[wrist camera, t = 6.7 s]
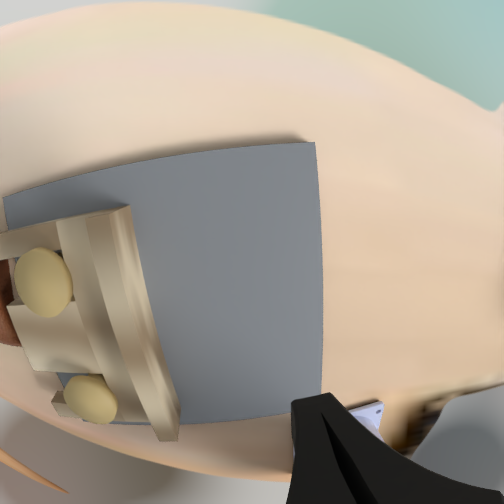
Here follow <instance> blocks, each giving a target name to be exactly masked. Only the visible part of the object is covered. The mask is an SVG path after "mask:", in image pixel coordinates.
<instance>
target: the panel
mask: <svg viewBox="0 0 504 504" xmlns="http://www.w3.org/2000/svg"><path fill="white" fill-rule="evenodd" d="M39 247H43V248H48V249H50V250H52V251H54V250H60V249H61V250H62V254H63V258H64V262H65V263H66V265H67V267H68V269H69V271H70V273H71V276H72V281H73V295H72V298H71V301H70V303H69V304H68V305H67V306H66V307H65V308H64V309H63V311H62V312H61V313H59V314H58V315H57V316H54V317H50V318H48V317H42V316H39V315H37V314H35V313H34V312H32V311H31V310H30V309H29V308H28V307H27V306H26V305H25V304H24V303H23V301H22V300H21V298H16V299H15V300H14V301H12V302H11V303H10V304H9V305H7V306H6V307H7V309H8V312H9V315H10V317H11V320H12V323H13V325H14V328H15V330H16V333H17V335H18V337H19V340H20V342H21V344H22V347H23V349H24V351H25V353H26V356H27V358H28V360H29V362H30V364H31V366H32V368H33V370H34V371H47V372H64V373H95V374H103V376H104V378H105V381H106V383H107V385H108V387H109V389H110V390H111V391H112V392H113V393H114V395H115V396H116V398H117V400H118V409H117V412H116V415H115V418H114V420H113V421H120V422H150V423H151V425H152V427H153V429H154V431H155V433H156V435H157V437H158V439H159V441H178V432H179V423H180V415H181V406H180V403H179V400H178V397H177V394H176V391H175V388H174V385H173V382H172V379H171V376H170V373H169V370H168V367H167V364H166V360H165V357H164V354H163V350H162V347H161V344H160V340H159V336H158V333H157V329H156V326H155V322H154V318H153V314H152V310H151V306H150V302H149V298H148V294H147V290H146V285H145V281H144V277H143V272H142V267H141V263H140V258H139V253H138V248H137V242H136V237H135V232H134V226H133V220H132V214H131V208H130V205H127V206H121V207H116V208H110V209H105V210H99V211H94V212H89V213H84V214H79V215H74V216H70V217H65V218H60V219H56V220H51V221H47V222H43V223H38V224H34V225H30V226H26V227H22V228H18V229H14V230H10V231H6V232H2V233H0V260H4V259H9V258H14V257H20V256H22V255H23V254H25V253H27V252H29V251H30V250H32V249H34V248H39ZM51 403H52V405H53V406H54V408H55V410H56V411H57V413H58V415H59V416H63V417H71V418H80V419H83V418H81V417H79V416H78V415H77V414H75V413H74V412H73V411H72V410H71V409H70V408H69V406H68V405H67V403H66V402H65V399H64V396H63V391H57V393H56V394H55V396H54V398H53V399H52V401H51Z"/></svg>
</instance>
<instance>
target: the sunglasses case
mask: <svg viewBox="0 0 504 504" xmlns="http://www.w3.org/2000/svg"><path fill="white" fill-rule="evenodd" d="M12 301H14V296H13V290H12V285H11V278H10V273H9V264H8V259H4V260H0V343H3V344H7V345H12V346H22V344H21V342H20V340H19V337H18V335H17V333H16V330H15V328H14V325H13V323H12V320H11V317H10V315H9V312H8V309H7V307H6V306H7V305H9V304H10V303H11V302H12Z"/></svg>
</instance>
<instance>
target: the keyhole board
mask: <svg viewBox="0 0 504 504" xmlns="http://www.w3.org/2000/svg"><path fill="white" fill-rule="evenodd" d="M3 202H4V208H5V215H6V220H7V226H8V231H10V230H14V229H18V228H22V227H26V226H30V225H34V224H38V223H43V222H47V221H51V220H56V219H60V218H65V217H70V216H74V215H79V214H84V213H89V212H94V211H99V210H105V209H110V208H116V207H121V206H127V205H130V208H131V214H132V220H133V226H134V232H135V237H136V242H137V248H138V253H139V258H140V263H141V267H142V272H143V277H144V281H145V285H146V290H147V294H148V298H149V302H150V306H151V310H152V314H153V318H154V322H155V326H156V329H157V333H158V336H159V340H160V344H161V347H162V350H163V354H164V357H165V360H166V364H167V367H168V370H169V373H170V376H171V379H172V382H173V385H174V388H175V391H176V394H177V397H178V400H179V403H180V406H181V415H180V423H179V425H180V424H200V423H214V422H226V421H235V420H244V419H252V418H259V417H266V416H273V415H279V414H285V413H290V412H291V402H292V401H293V400H295V399H301V398H306V397H311V396H316V395H320V394H321V381H322V352H323V266H322V237H321V216H320V199H319V184H318V171H317V159H316V148H315V142H305V143H286V144H271V145H258V146H247V147H237V148H227V149H219V150H211V151H203V152H195V153H188V154H182V155H175V156H169V157H163V158H157V159H151V160H146V161H141V162H135V163H130V164H125V165H121V166H116V167H111V168H107V169H102V170H98V171H94V172H89V173H85V174H81V175H77V176H73V177H70V178H66V179H62V180H58V181H55V182H51V183H48V184H44V185H41V186H38V187H34V188H31V189H28V190H25V191H22V192H18V193H15V194H12V195H9V196H6V197H4V198H3ZM15 261H16V266H15V271H14V281H15V286H16V289H17V292H18V294H19V296H20V298H21V300H22V301H23V303H24V304H25V305H26V306H27V307H28V308H29V309H30V310H31V311H32V312H34V313H35V314H37V315H39V316H42V317H48V318H50V317H54V316H57V315H58V314H59V313H61V312H62V311H63V309H64V308H65V307H66V306H67V305H68V304H69V303H70V301H71V298H72V295H73V281H72V276H71V273H70V271H69V269H68V267H67V265H66V263H65V262H64V258H63V254H62V250H61V249H60V250H54V251H52V250H50V249H48V248H43V247H39V248H34V249H32V250H30V251H29V252H27V253H25V254H23V255H22V256H20V257H15ZM57 374H58V376H59V378H60V380H61V382H62V384H63V386H64V388H65V389H64V392H63V396H64V399H65V402H66V403H67V405H68V406H69V408H70V409H71V410H72V411H73V412H74V413H75V414H77V415H78V416H79V417H81V418H83V419H82V420H83V421H85V422H92V423H96V424H107V423H109V424H130V425H151V423H150V422H120V421H113V420H114V418H115V415H116V412H117V409H118V400H117V398H116V396H115V395H114V393H113V392H112V391H111V390H110V389H109V387H108V385H107V383H106V381H105V378H104V376H103V374H95V373H64V372H57Z"/></svg>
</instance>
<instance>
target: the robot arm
mask: <svg viewBox="0 0 504 504" xmlns="http://www.w3.org/2000/svg"><path fill="white" fill-rule="evenodd" d="M383 409H384V403H383V402H382V401H378V402H375V403H372V404H369V405H365V406H362V407H359V408H355V409H351V410H347V409H346V408H345V407H344V406H343V405H342V404H341V403H340V402H339V401H338V400H337V399H336V398H335V397H334V395H333V394H331V393H330V392H329V393H325V394H320V395H316V396H311V397H306V398H301V399H295V400H293V401H292V402H291V426H292V438H293V458H294V464H293V472H292V478H291V483H290V488H289V493H288V498H287V502H286V504H504V496H503V495H502V494H501V492H500V491H496V490H490V489H485V488H480V487H476V486H471V485H468V484H465V483H461V482H458V481H455V480H452V479H449V478H447V477H445V476H442V475H440V474H437V473H435V472H433V471H430V470H428V469H426V468H424V467H422V466H420V465H418V464H416V463H415V462H413V461H411V460H410V459H408V458H406V457H404V456H403V455H401V454H400V453H398V452H397V451H395V450H394V449H392V448H391V447H390V446H388V445H387V444H386V443H385V442H384V441H383V439H382V437H381V435H380V433H379V432H378V428H379V424H380V420H381V417H382V413H383Z"/></svg>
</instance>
